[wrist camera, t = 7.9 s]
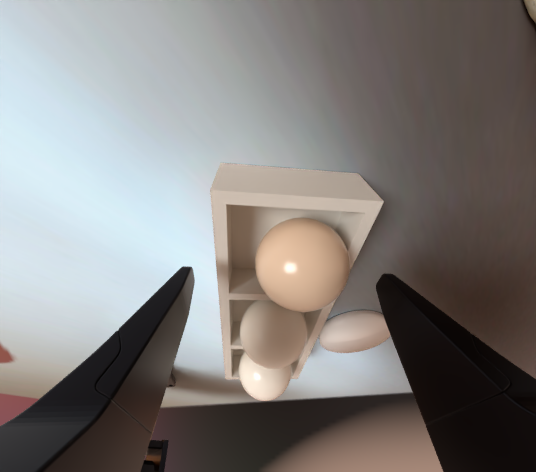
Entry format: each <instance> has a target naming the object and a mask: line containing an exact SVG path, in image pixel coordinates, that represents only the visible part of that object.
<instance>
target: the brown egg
mask: <svg viewBox="0 0 536 472" xmlns="http://www.w3.org/2000/svg"><path fill="white" fill-rule="evenodd" d="M255 269H256V275H257V278H258V281H259V283H260V285H261V287H262V289H263V290H264V292H265V293H266V295H267V296H268V297H269V298H270V299H271V300H272V301H274V302H275V303H276V304H278V305H280V306H282V307H284V308H286V309H289V310H292V311H298V312H309V311H315V310H318V309H321V308H323V307H325V306H327V305H329V304H330V303H332V302H333V301H334V300H335V299H336V298H337V297H338V296H339V295H340V294H341V292H342V291H343V289H344V287H345V285H346V283H347V280H348V277H349V271H350V260H349V254H348V251H347V248H346V246H345V244H344V242H343V240H342V239H341V237H340V236H339V235H338V234H337V232H335V231H334V230H333V229H332V228H331V227H330V226H328V225H326V224H325V223H323V222H321V221H318V220H316V219H311V218H304V217H301V218H292V219H288V220H285V221H283V222H280V223H279V224H277V225H275V226H274V227H273V228H271V229H270V230H269V231H268V232H267V233H266V235H265V236H264V237H263V239H262V240H261V242H260V244H259V246H258V249H257V253H256V258H255Z"/></svg>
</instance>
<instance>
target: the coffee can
mask: <svg viewBox="0 0 536 472" xmlns="http://www.w3.org/2000/svg"><path fill="white" fill-rule="evenodd" d="M524 2H525V5H526V8H527V10H528V13H529V15H530V17H531V18H532V19H533V20H534V22H535V23H536V0H524Z"/></svg>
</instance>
